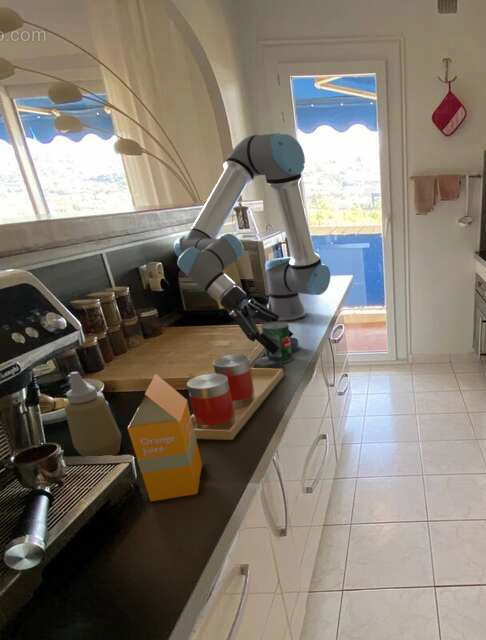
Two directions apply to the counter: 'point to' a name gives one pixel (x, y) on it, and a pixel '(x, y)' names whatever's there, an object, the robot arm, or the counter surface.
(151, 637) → the counter surface
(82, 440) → the squeeze bottle
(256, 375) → the tray
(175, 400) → the orange juice
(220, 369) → the can label
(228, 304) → the robot arm
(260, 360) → the grey tin
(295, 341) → the grey tin
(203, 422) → the label can
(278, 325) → the canned tomato
